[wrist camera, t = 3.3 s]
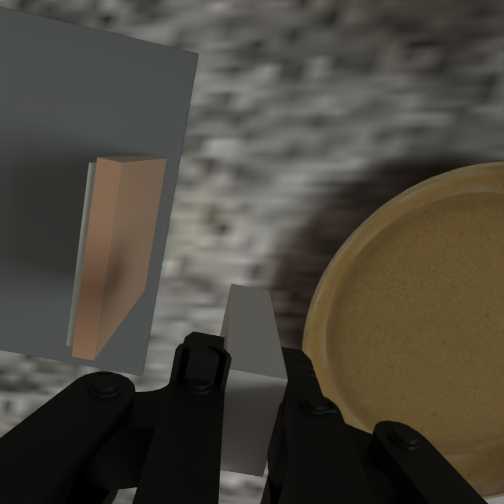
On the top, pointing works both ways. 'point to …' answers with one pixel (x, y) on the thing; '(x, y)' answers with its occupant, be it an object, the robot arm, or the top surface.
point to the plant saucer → (422, 320)
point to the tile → (113, 247)
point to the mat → (77, 169)
